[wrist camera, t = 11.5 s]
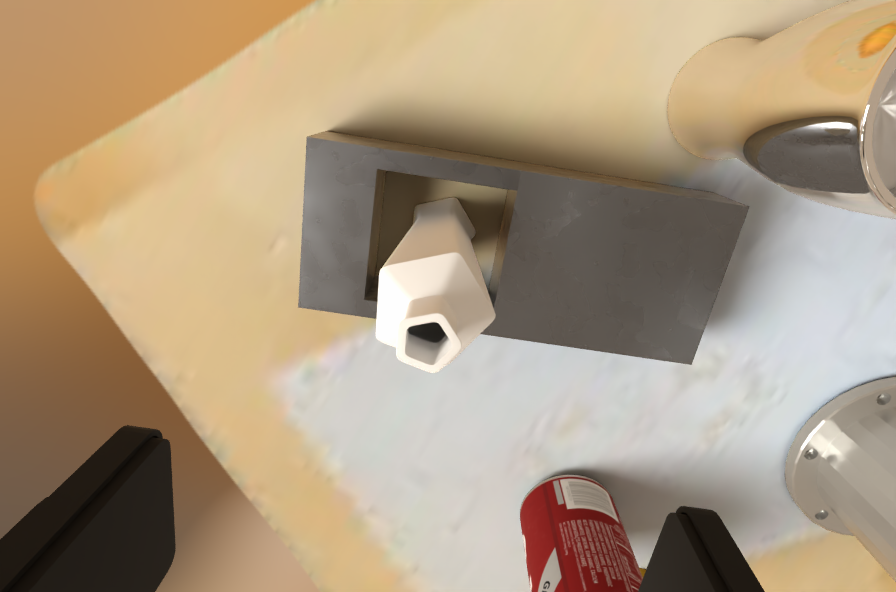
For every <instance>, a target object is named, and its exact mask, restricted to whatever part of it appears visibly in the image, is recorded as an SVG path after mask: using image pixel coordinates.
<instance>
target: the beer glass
mask: <svg viewBox="0 0 896 592" xmlns="http://www.w3.org/2000/svg"><path fill="white" fill-rule="evenodd" d="M667 113H668V121H669V125H670V129H671V131H672V133H673V135H674V137H675V139H676V140H677V141H678V143H679V144H680V145H681V146H682V147H683V148H684V149H685V150H687V151H688V152H689V153H691V154H693V155H695V156H697V157H700V158H704V159H710V160H728V159H735V158H737V159H739V160H740V161H742V162H743V163H744V164H746V165H747V166H748V167H750V168H751V169H753V170H754V171H756V172H757V173H759V174H760V175H762V176H763V177H764V178H766V179H768V180H769V181H771V182H773V183H775V184H776V185H778V186H780V187H782V188H784V189H786V190H787V191H789V192H792V193H794V194H796V195H799V196H802V197H805V198H807V199H810V200H813V201H816V202H818V203H821V204H825V205H829V206H833V207H837V208H841V209H845V210H848V211H853V212H858V213H863V214H868V215H873V216H878V217H884V218H890V219H896V0H851V1H847V2H844V3H841V4H839V5H836V6H834V7H832V8H829V9H827V10H824V11H822V12H820V13H817V14H815V15H813V16H810V17H808V18H806V19H804V20H802V21H800V22H798V23H796V24H794V25H792V26H790V27H788V28H786V29H784V30H782V31H781V32H779V33H777V34H775V35H773V36H771V37H769V38H767V39H765V40H759V39H754V38H747V37H733V38H726V39H722V40H719V41H716V42H713V43H711V44H709V45H707V46H706V47H704V48H702V49H701V50H699V51H698V52H697V53H696V54H694V55H693V56H692V57H691V58H690V59H689V60H688V61H687V62H686V63H685V65H684V66H683V67H682V68H681V70H680V71H679V73H678V75H677V76H676V78H675V80H674V82H673V85H672V87H671V90H670V94H669V98H668V107H667Z"/></svg>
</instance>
